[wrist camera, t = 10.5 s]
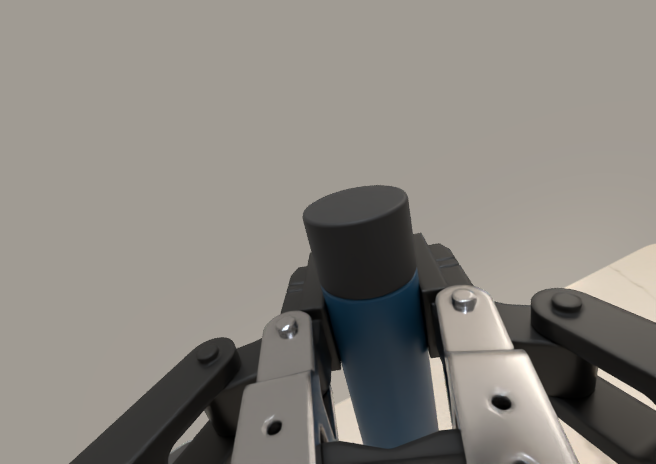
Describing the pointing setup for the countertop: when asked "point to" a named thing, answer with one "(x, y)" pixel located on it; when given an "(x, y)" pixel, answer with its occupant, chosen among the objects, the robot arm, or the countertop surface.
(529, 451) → the robot arm
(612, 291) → the countertop surface
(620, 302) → the countertop surface
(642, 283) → the countertop surface
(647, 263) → the countertop surface
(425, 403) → the marker
